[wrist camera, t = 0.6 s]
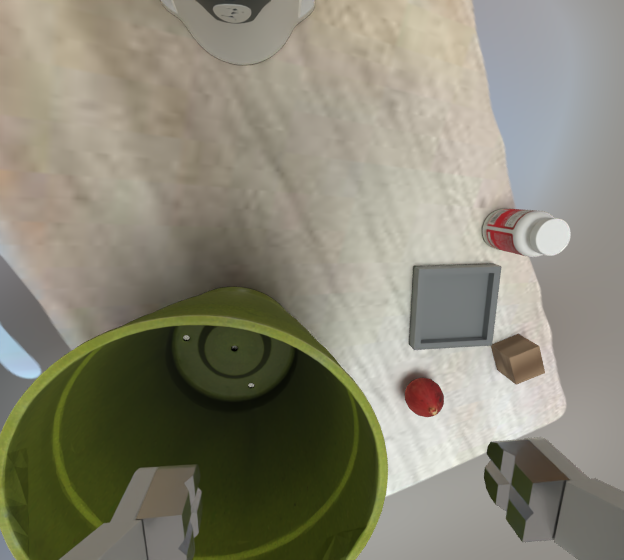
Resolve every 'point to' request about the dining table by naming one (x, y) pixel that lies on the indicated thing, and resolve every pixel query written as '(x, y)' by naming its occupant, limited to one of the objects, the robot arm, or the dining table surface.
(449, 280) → the tray
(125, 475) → the plant pot
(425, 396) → the red round piece
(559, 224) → the pill bottle
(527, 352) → the walnut block
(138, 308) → the dining table surface
